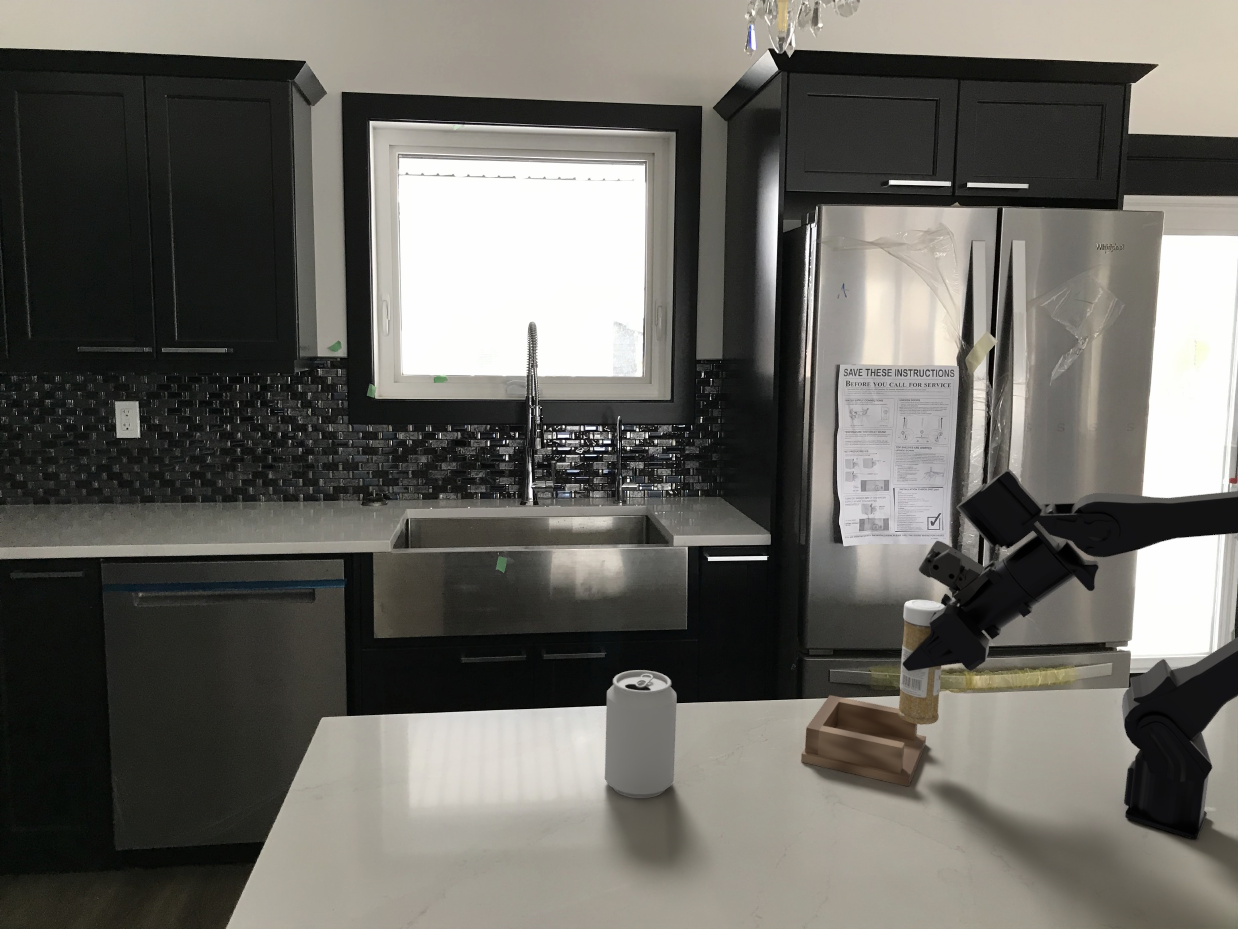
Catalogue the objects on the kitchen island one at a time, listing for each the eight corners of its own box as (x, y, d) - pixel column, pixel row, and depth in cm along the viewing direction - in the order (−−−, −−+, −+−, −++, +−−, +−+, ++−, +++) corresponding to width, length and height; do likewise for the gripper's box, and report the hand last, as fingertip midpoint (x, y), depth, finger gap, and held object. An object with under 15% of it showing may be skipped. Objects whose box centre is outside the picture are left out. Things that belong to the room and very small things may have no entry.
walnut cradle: (925, 744, 113) (928, 712, 112) (908, 786, 102) (911, 752, 102) (826, 723, 118) (828, 693, 118) (801, 761, 108) (802, 728, 107)
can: (591, 790, 100) (594, 683, 98) (624, 763, 106) (627, 661, 105) (655, 809, 96) (658, 698, 95) (684, 779, 103) (688, 674, 101)
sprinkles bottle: (947, 722, 106) (956, 607, 104) (915, 728, 104) (923, 611, 102) (919, 707, 110) (927, 596, 108) (888, 713, 108) (895, 600, 106)
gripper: (978, 508, 110) (877, 586, 117) (958, 538, 94) (842, 627, 100) (1045, 582, 108) (938, 657, 114) (1037, 626, 91) (913, 711, 98)
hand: (908, 660), depth 107 cm, fingers closed on sprinkles bottle, 4 cm apart
